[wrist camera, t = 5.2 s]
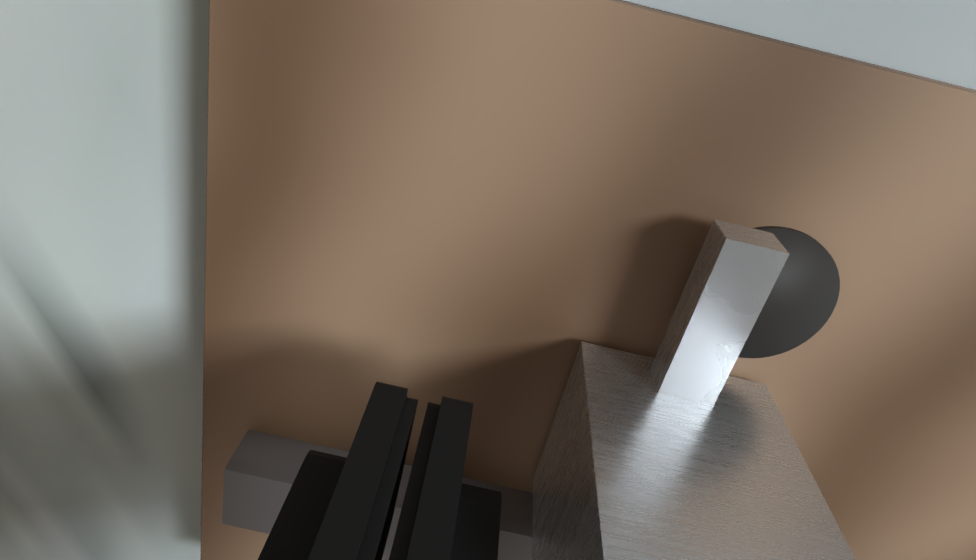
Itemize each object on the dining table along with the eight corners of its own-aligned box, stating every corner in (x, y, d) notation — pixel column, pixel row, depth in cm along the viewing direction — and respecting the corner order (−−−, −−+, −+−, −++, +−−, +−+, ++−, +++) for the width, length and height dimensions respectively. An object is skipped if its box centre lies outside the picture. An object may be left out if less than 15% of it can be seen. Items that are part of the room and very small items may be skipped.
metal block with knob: (841, 244, 11) (1285, 681, 4) (694, 514, 14) (827, 1005, 7) (633, 193, 11) (775, 567, 4) (533, 478, 14) (525, 945, 7)
